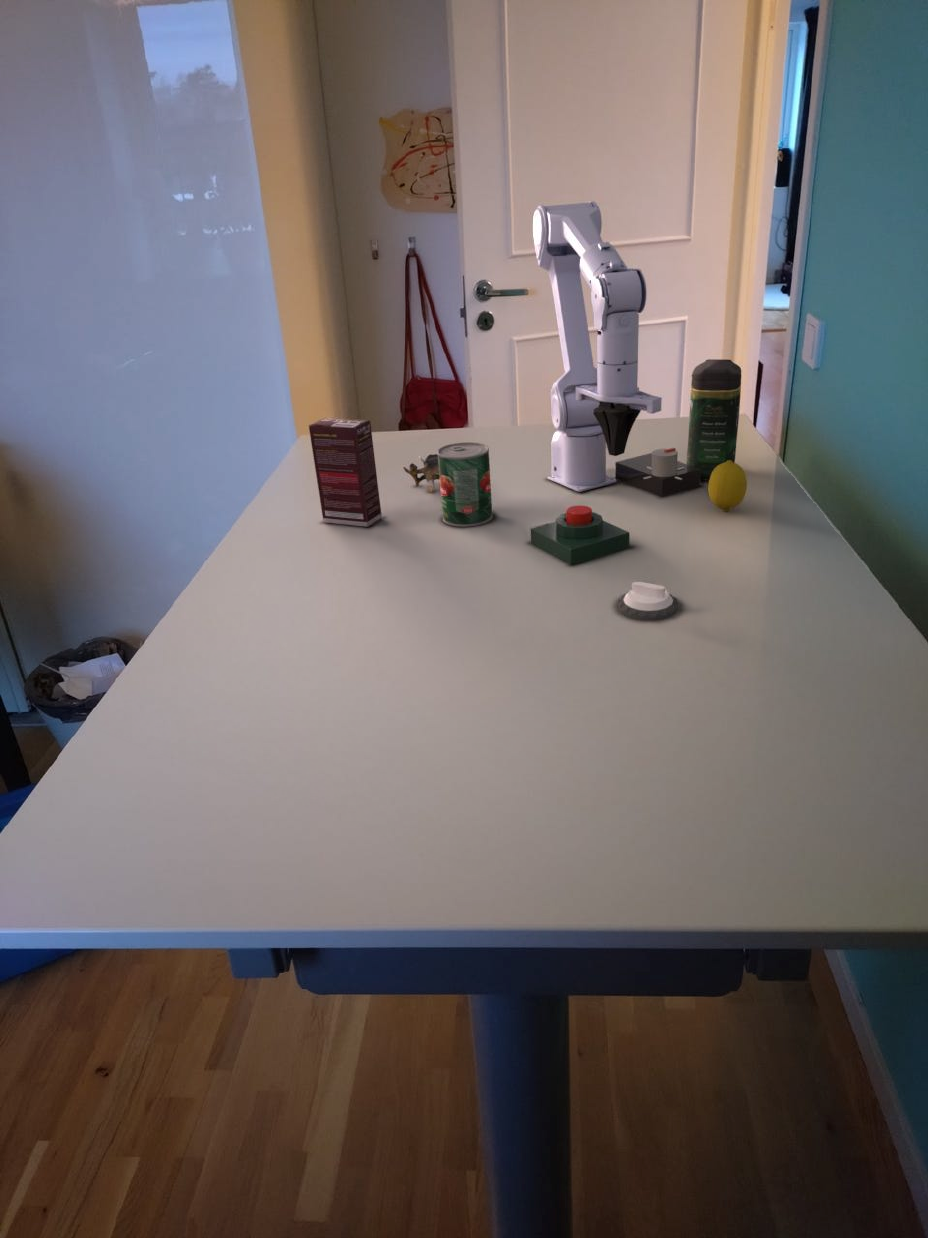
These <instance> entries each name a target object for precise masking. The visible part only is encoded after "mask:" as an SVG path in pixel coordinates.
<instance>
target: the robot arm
mask: <svg viewBox="0 0 928 1238" xmlns="http://www.w3.org/2000/svg"><path fill="white" fill-rule="evenodd" d="M602 223H603V222H602V212H601V209H600V207H599V205H598V204H597V203H596V202H595V201H594V200H590V201H588V202H579V203H568V204H567V203H566V204H556V205H544V204H543V205H542V204H541V205H538V206H537V208H536V209H535V210H534V213H533V219H532V236H533V243H534V250H535V251H534V252H535V256H536V260H537V265H538V267H540V268H542V269H543V270H546V271H547V272H548V276H549V281H550V285H551V290H552V297H553V303H554V309H555V317H556V323H557V330H558V337H559V344H560V351H561V357H562V363H563V371H564V373H562V374H561V376H560V377H559V378H557V380H556V381H555V382H554V383H553V384H552V386H551V390H550V400H551V401H550V413H551V420H552V424H553V426H554V429H556V430H555V432H554V433H553V436H552V438H551V443H550V448H551V449H550V457H551V458H550V459H551V474H549V475H548V476H547V479H548V480H550V481H552V482H554V483H557V484H559V485H561V486H564V487H566V488H568V489H570V490H573V491H575V492H577V493H582V492H585V491H589V490H593V489H597V488H600V487H605V486H608V485H613V484H616V483H617V482H618V480H617V479H615V478H614V477H611V476H608V475H607V471H606V470H607V452H608V455H609V456H613V457H619V456H621V455H623V454H625V451H626V446H627V444H628V440H629V435H630V434H631V431H632V428H633V426H634V423H635V422H636V420H637V418H638V417H639V415H640V413H641V412H642V411H643V412H646V413H647V414H652V415H653V414H656V413H659V412H661V411H662V400H663V399H662V398H663V397H661V396H657V395H653V394H651V393H647V392H644V391H642V390H640V387H638V377H639V376H638V374H639V373H638V372H639V363H638V362H639V330H640V329H639V326H640V325H639V324H640V323H639V322H640V319H639V318H640V314H641V313H642V312H643V311H644V309H645V307H646V303H647V293H648V292H647V282H646V278H645V275H644V273H643V272H642V269H641V268H628V266H627V265H626V263H625V262H624V260H623V258H622V257H621V256H620V254H619V252H618V251H617V249H616V247H615V246H614V245H613V244H611V243H610V242H609V241H603V240H602V236H601V233H602V227H603V225H602ZM581 274H582V276H583V278H584V280H585V282H586V283H587V285H588V287H589V289H590V291H591V292H590V300H591V301H590V302H591V307H592V311H593V324H594V329H596V330H597V332H596V333H597V338H596V339H597V341H596V342H597V343H596V345H597V346H596V349H597V350H596V351H597V352H596V353H597V355H596V359H597V360H596V362H597V364H596V367H595V366H594V365H595V364H594V359H593V352H592V346H591V339H590V332H589V326H588V318H587V312H586V311H587V310H586V304H585V299H584V292H583V285H582V279H581Z"/></svg>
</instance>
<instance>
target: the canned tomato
mask: <svg viewBox="0 0 928 1238" xmlns="http://www.w3.org/2000/svg"><path fill="white" fill-rule="evenodd" d="M489 451H490V447H489V446H488V445H487V444H484V443H481V442H468V441H467V442H463V441H462V442H455V443H450V444H447V445H444V446H441V447H439V448H438V449H437V451H436V454H438V464H439V476H440V480H439V485H440V487H439V488H440V499H441V511H442V521H443V522H444V523H445V524H446V525H449V526H452V527H458V528H469V527H470V528H471V527H476V526H477V527H478V526H481V525H484V524H486V523H489V522H490V521H491V520H492V519H493V517H494V514H493V502H492V500H493V499H492V487H491V486H492V484H491V469H490V468H491V466H490V453H489Z"/></svg>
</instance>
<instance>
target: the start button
mask: <svg viewBox="0 0 928 1238" xmlns="http://www.w3.org/2000/svg"><path fill="white" fill-rule="evenodd" d="M592 512H593V508H591V507H590V506H588V505H581V504H580V505H579V504H578V505H573V506H568V507H567V508H566V510H565V513H566V522H567V523H569V524H574V525H581V524H587V523H591V522H592Z"/></svg>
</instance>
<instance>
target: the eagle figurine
mask: <svg viewBox="0 0 928 1238" xmlns="http://www.w3.org/2000/svg"><path fill="white" fill-rule="evenodd" d="M418 459H419V460H420V461H421V462H422V464H423V467H421V468H419V467H418V466H417V465H416V464H414V463H413V462H412V463H410V464H409V468H406V466H403V470H404V471H405V473H406V474H408V475H410V476H411V477H412V479H413V480H414V482H415V487H419V484H420V483H421V482H423V481H424V480H426V482H427V484H428V487H429V493H432V492H433V491H434V489H435V481H436V480H438V481H440V476H439V464H438V454H437V453H435V454H429V455H427V456H426V457H425V459H423V458H422V456H421V455H418ZM419 474H422V475H420V476H418V475H419Z"/></svg>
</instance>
